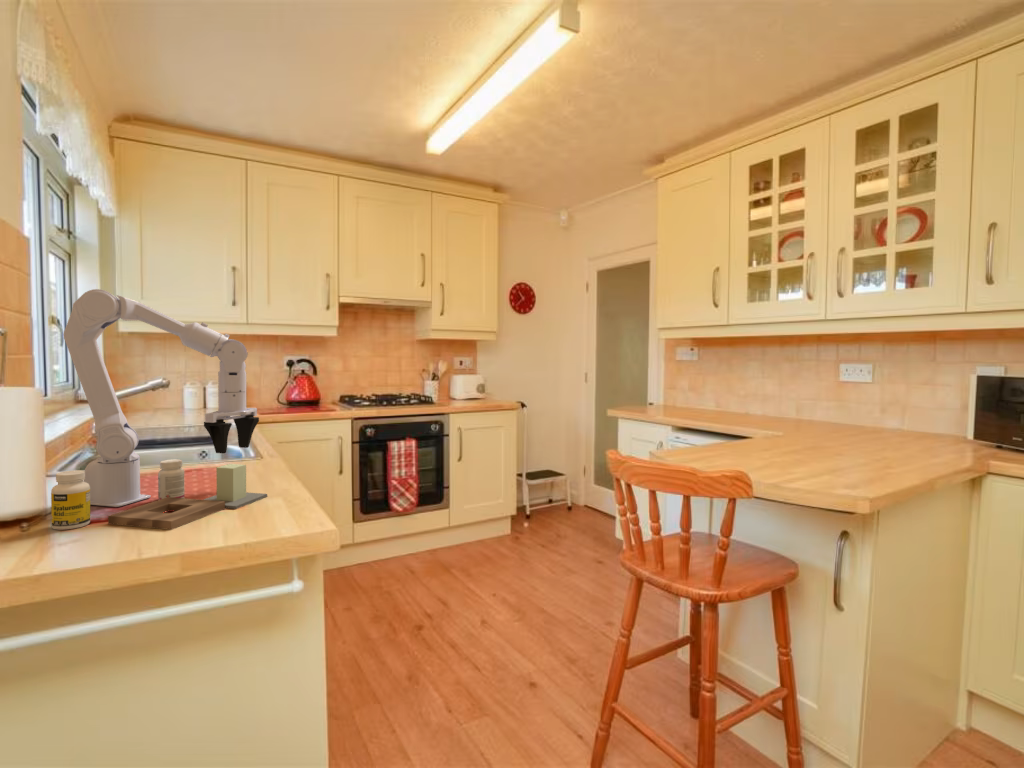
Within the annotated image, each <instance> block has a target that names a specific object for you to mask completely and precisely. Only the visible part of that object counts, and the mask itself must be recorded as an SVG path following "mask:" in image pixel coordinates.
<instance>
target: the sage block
mask: <svg viewBox="0 0 1024 768" xmlns="http://www.w3.org/2000/svg"><path fill="white" fill-rule="evenodd" d="M215 473H216V495H217V500H222V501H236V500H238V499H241V498H244V497H246V492H247V465H246V464H241V463H237V464H236V463H228V464H224V465H221V466H217V467H216V472H215Z"/></svg>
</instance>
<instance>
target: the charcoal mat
mask: <svg viewBox="0 0 1024 768" xmlns="http://www.w3.org/2000/svg"><path fill="white" fill-rule="evenodd" d="M267 497H268V494H267V493H259V492H247V491H246V497H244V498H241V499H238V500H236V501H225V509H233V510H237V509H240V508H242V507H245V506H247V505H250V504H252V503H255V502H257V501H260V500H261V499H265V498H267ZM202 500H213V501H222V500H217V494H215V495H212V496H209V497H207V498H203V499H202Z"/></svg>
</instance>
